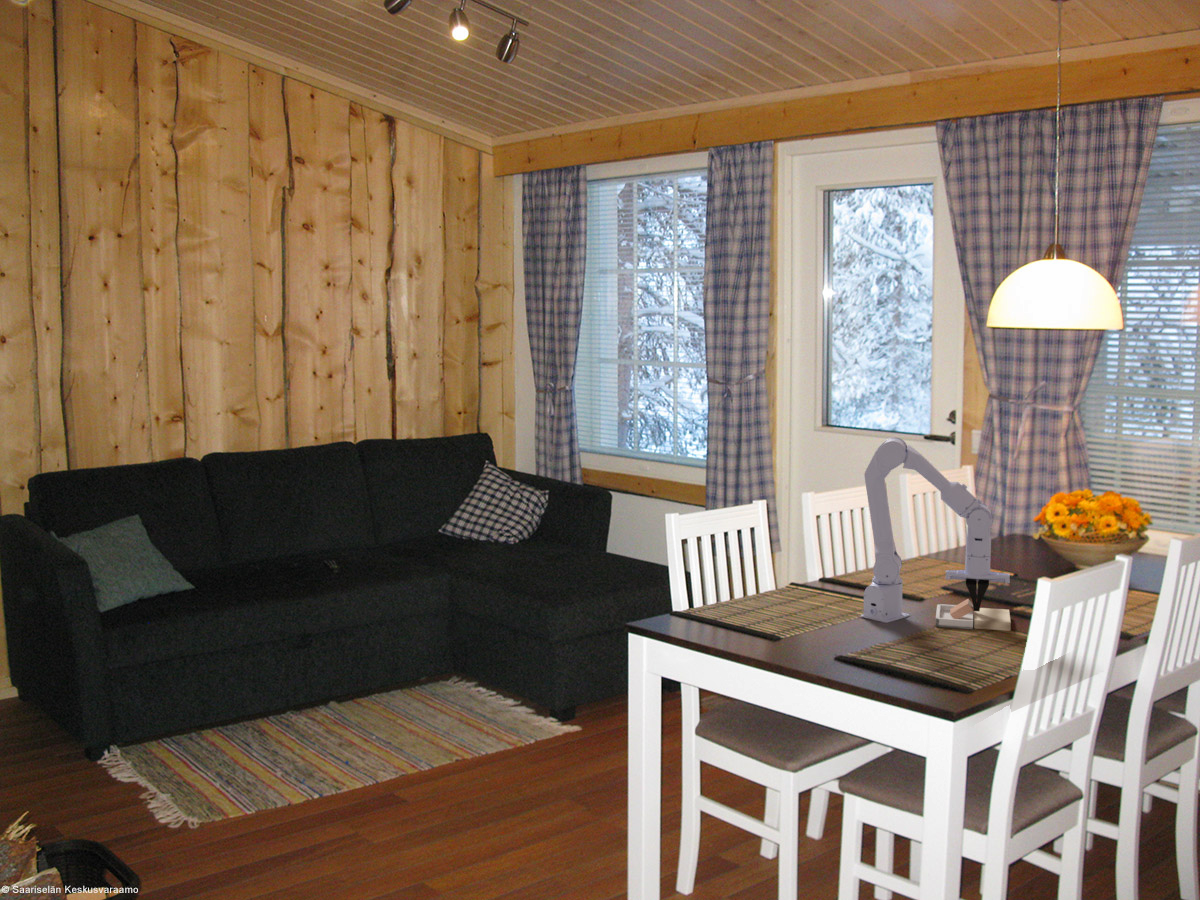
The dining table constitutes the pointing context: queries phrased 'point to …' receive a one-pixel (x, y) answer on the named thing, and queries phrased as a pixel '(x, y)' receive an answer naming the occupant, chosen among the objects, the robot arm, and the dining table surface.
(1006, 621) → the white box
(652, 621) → the dining table surface
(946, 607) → the tray
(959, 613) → the tile
